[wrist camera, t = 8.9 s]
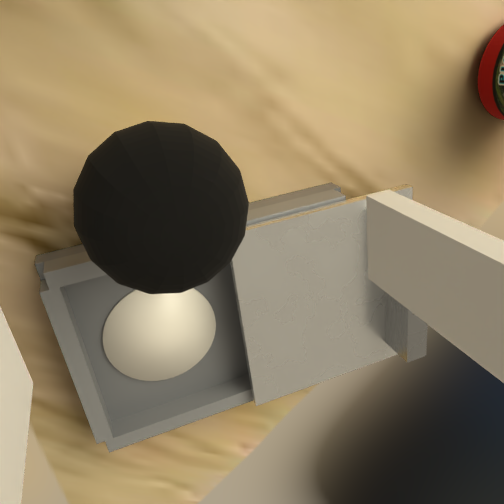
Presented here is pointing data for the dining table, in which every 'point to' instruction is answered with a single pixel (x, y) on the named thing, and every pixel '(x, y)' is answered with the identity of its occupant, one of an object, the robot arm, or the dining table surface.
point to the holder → (154, 338)
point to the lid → (316, 300)
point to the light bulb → (160, 207)
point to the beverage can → (493, 76)
